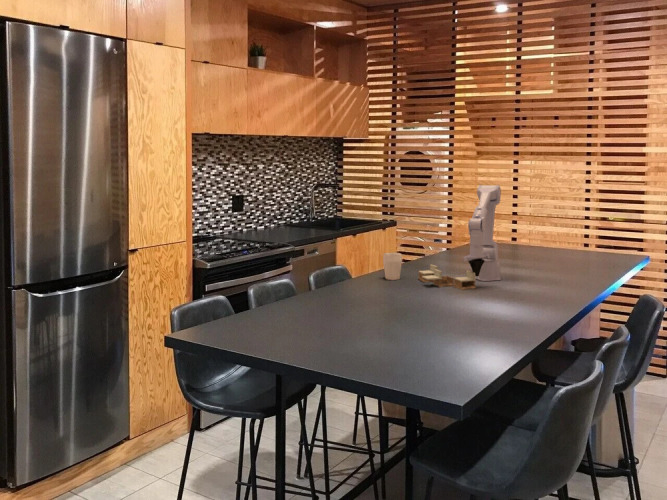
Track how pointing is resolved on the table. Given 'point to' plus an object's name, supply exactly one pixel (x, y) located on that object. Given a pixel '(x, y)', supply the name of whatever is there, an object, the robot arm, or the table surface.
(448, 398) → the table surface
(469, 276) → the lid
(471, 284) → the crates
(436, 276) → the lid
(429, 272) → the lid
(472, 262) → the robot arm
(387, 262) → the cup
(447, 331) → the table surface
